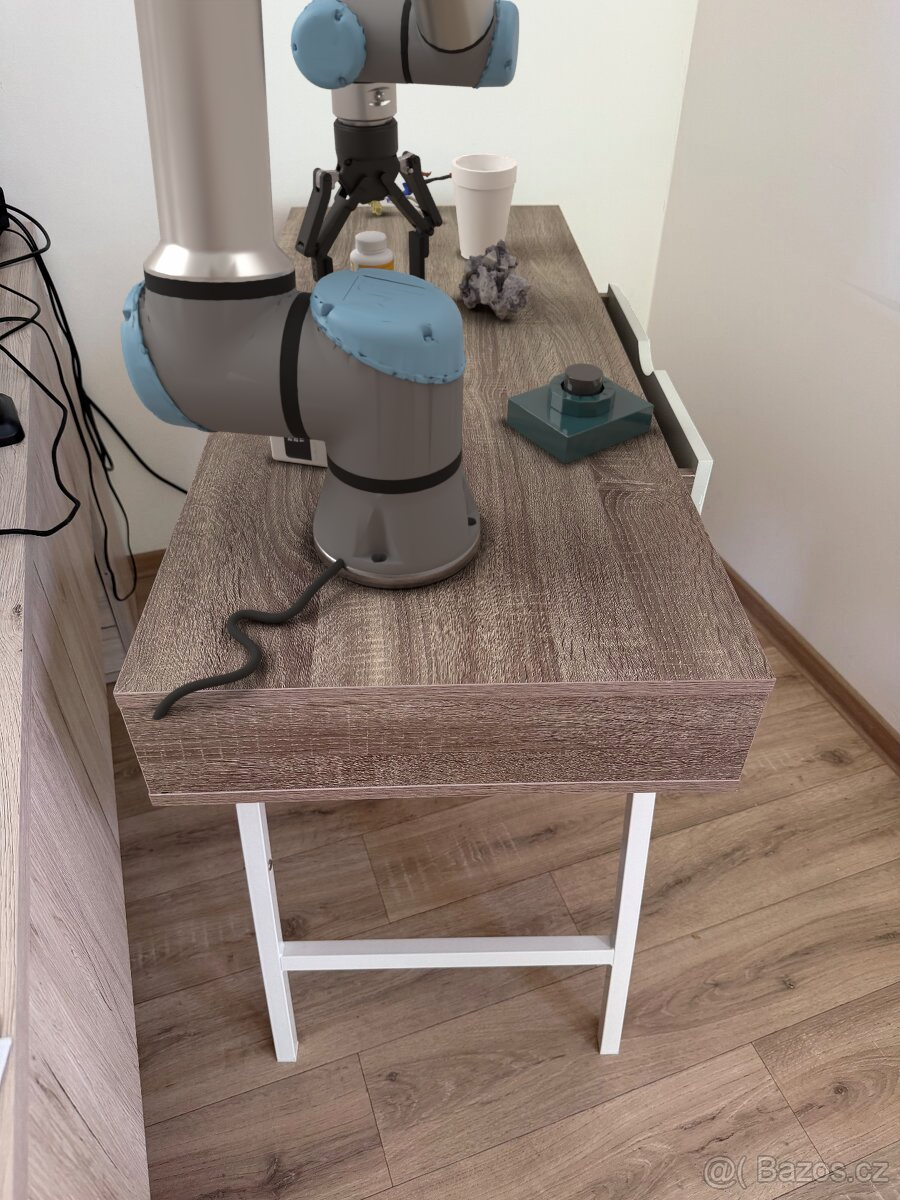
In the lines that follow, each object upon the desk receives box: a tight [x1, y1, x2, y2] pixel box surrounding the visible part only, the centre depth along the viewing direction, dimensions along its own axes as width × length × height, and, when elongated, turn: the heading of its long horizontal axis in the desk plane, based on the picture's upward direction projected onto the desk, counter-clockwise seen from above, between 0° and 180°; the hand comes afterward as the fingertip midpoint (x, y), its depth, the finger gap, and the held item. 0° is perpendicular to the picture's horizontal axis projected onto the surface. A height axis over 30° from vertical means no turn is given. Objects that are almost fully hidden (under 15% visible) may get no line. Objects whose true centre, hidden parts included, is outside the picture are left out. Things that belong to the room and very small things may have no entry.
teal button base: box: [506, 372, 655, 465], centre depth 99 cm, size 12×10×5 cm
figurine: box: [362, 169, 452, 216], centre depth 153 cm, size 10×9×20 cm
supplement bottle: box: [349, 230, 395, 271], centre depth 119 cm, size 6×6×10 cm
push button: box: [563, 362, 604, 397], centre depth 97 cm, size 4×4×2 cm
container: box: [269, 436, 327, 468], centre depth 92 cm, size 8×8×13 cm
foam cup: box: [451, 152, 518, 260], centre depth 135 cm, size 10×9×13 cm
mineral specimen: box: [457, 239, 533, 321], centre depth 122 cm, size 12×9×10 cm
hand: (374, 294), depth 121 cm, fingers open, 13 cm apart
